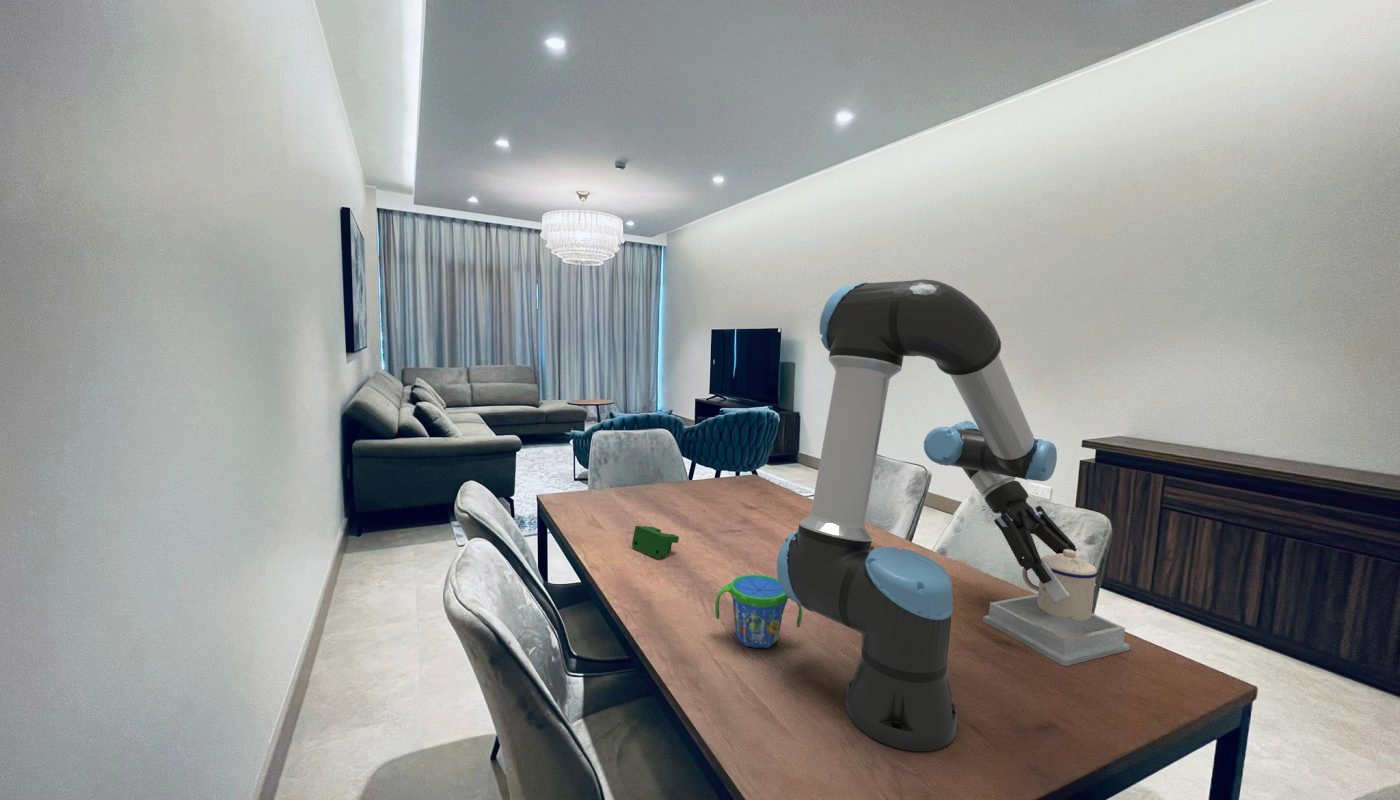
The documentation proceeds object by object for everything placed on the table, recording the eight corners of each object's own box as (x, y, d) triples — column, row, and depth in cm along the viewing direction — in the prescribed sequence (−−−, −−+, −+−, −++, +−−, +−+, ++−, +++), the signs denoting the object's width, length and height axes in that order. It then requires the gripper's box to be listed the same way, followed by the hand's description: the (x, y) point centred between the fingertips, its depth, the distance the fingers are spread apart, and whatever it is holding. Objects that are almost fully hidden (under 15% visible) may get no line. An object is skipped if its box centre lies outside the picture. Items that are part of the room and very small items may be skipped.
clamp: (668, 570, 145) (685, 541, 143) (651, 571, 140) (668, 541, 139) (644, 540, 153) (660, 513, 151) (627, 540, 148) (643, 511, 147)
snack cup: (801, 631, 107) (804, 579, 106) (798, 661, 96) (801, 603, 96) (720, 620, 110) (722, 569, 109) (708, 647, 100) (710, 592, 99)
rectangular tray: (1064, 666, 97) (1066, 644, 97) (982, 620, 113) (984, 601, 113) (1129, 650, 104) (1131, 629, 103) (1043, 609, 119) (1045, 590, 119)
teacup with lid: (1098, 612, 107) (1104, 552, 106) (1085, 627, 100) (1092, 563, 99) (1027, 590, 115) (1033, 535, 114) (1012, 603, 109) (1017, 544, 108)
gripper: (1015, 492, 125) (1088, 589, 113) (954, 504, 114) (1028, 613, 102) (1042, 473, 120) (1121, 573, 108) (981, 484, 109) (1062, 597, 97)
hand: (1076, 593), depth 105 cm, fingers closed on teacup with lid, 9 cm apart
